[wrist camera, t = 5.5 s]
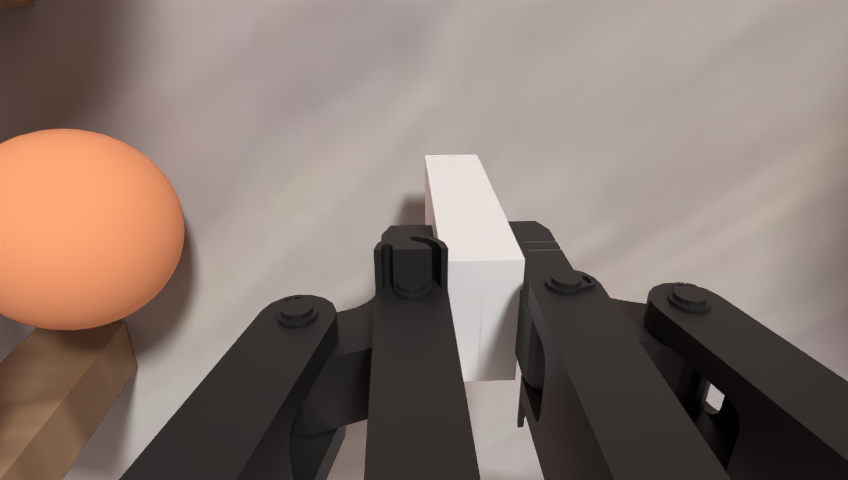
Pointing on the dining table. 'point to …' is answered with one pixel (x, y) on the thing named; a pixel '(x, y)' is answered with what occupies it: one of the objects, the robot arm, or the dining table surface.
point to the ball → (83, 229)
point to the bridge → (58, 391)
